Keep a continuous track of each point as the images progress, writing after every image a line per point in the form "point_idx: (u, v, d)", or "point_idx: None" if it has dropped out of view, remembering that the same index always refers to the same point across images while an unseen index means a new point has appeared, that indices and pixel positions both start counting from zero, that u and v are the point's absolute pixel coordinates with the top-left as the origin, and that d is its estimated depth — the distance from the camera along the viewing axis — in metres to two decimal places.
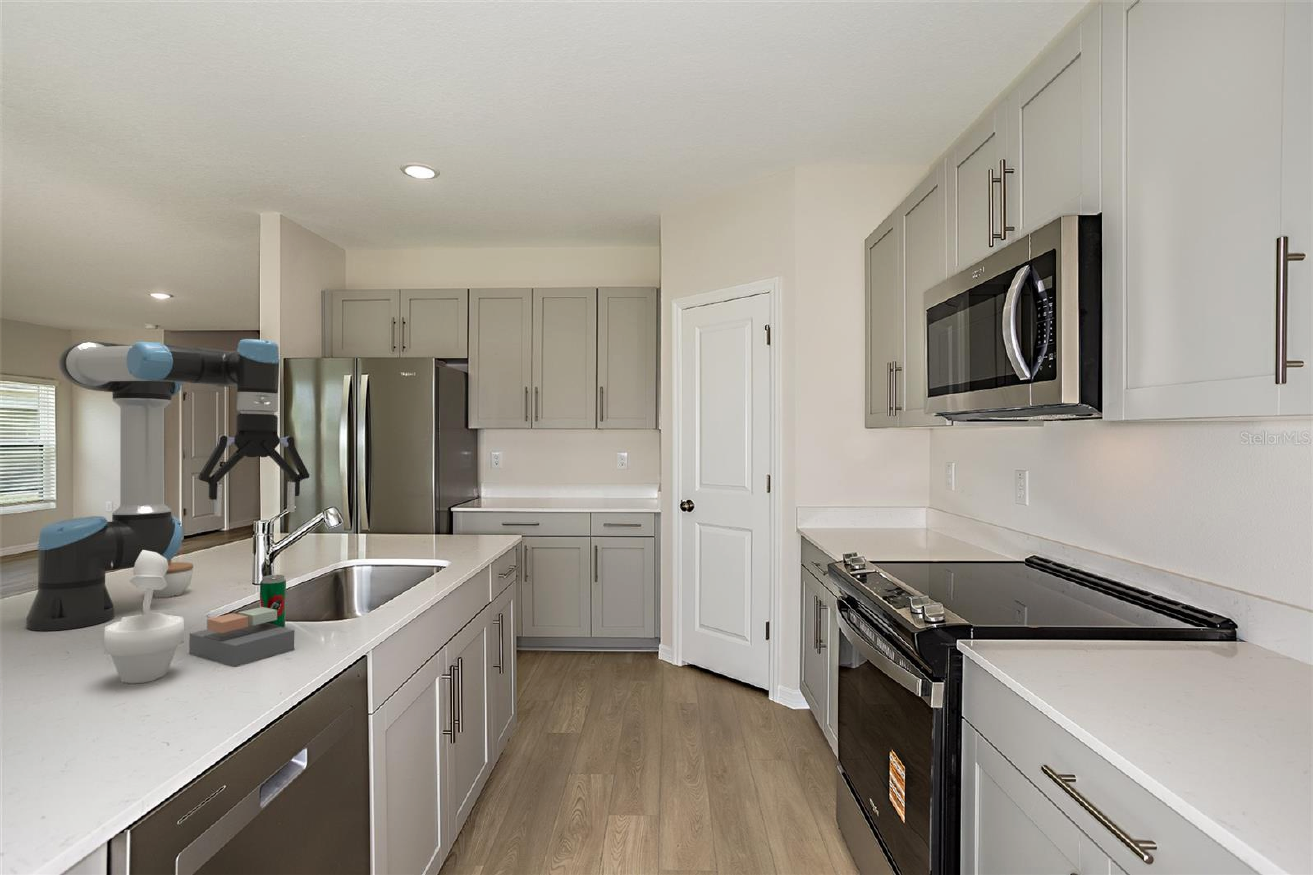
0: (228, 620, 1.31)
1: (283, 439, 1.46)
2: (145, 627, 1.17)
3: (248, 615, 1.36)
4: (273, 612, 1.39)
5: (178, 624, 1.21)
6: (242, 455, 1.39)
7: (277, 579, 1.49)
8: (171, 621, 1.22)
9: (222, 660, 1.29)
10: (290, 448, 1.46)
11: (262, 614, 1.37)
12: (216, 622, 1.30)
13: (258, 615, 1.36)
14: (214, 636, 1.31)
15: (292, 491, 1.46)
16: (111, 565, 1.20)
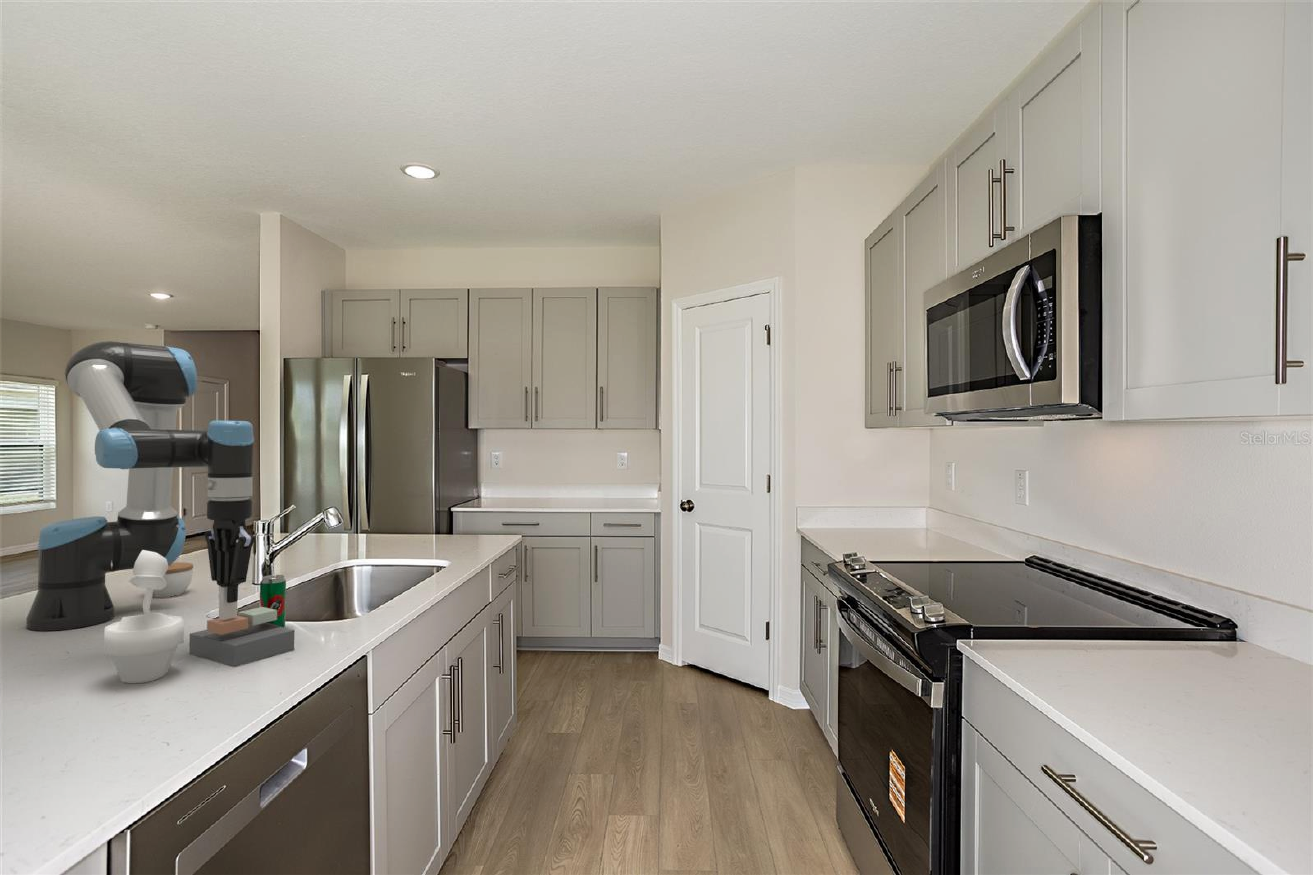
0: (228, 622, 1.31)
1: (241, 535, 1.30)
2: (145, 627, 1.17)
3: (248, 615, 1.36)
4: (273, 612, 1.39)
5: (178, 624, 1.21)
6: (217, 546, 1.32)
7: (277, 579, 1.49)
8: (171, 621, 1.22)
9: (222, 660, 1.29)
10: (236, 547, 1.30)
11: (262, 614, 1.37)
12: (216, 624, 1.30)
13: (258, 615, 1.36)
14: (214, 636, 1.31)
15: (222, 597, 1.32)
16: (111, 565, 1.20)
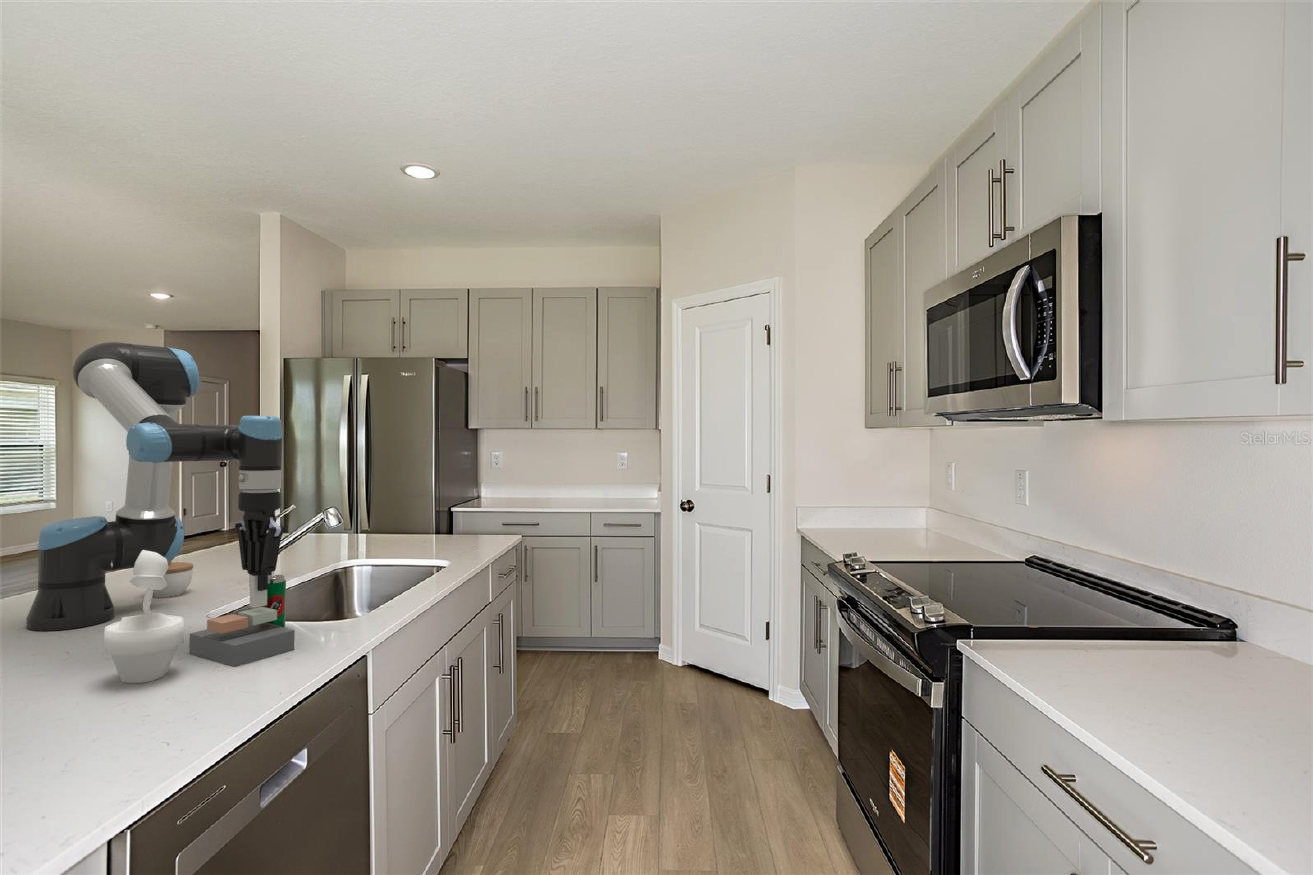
0: (228, 621, 1.31)
1: (271, 525, 1.36)
2: (145, 627, 1.17)
3: (248, 615, 1.36)
4: (273, 612, 1.39)
5: (178, 624, 1.21)
6: (248, 537, 1.37)
7: (277, 579, 1.49)
8: (171, 621, 1.22)
9: (222, 660, 1.29)
10: (267, 537, 1.35)
11: (262, 614, 1.37)
12: (216, 623, 1.30)
13: (258, 615, 1.36)
14: (214, 636, 1.31)
15: (252, 585, 1.37)
16: (111, 565, 1.20)
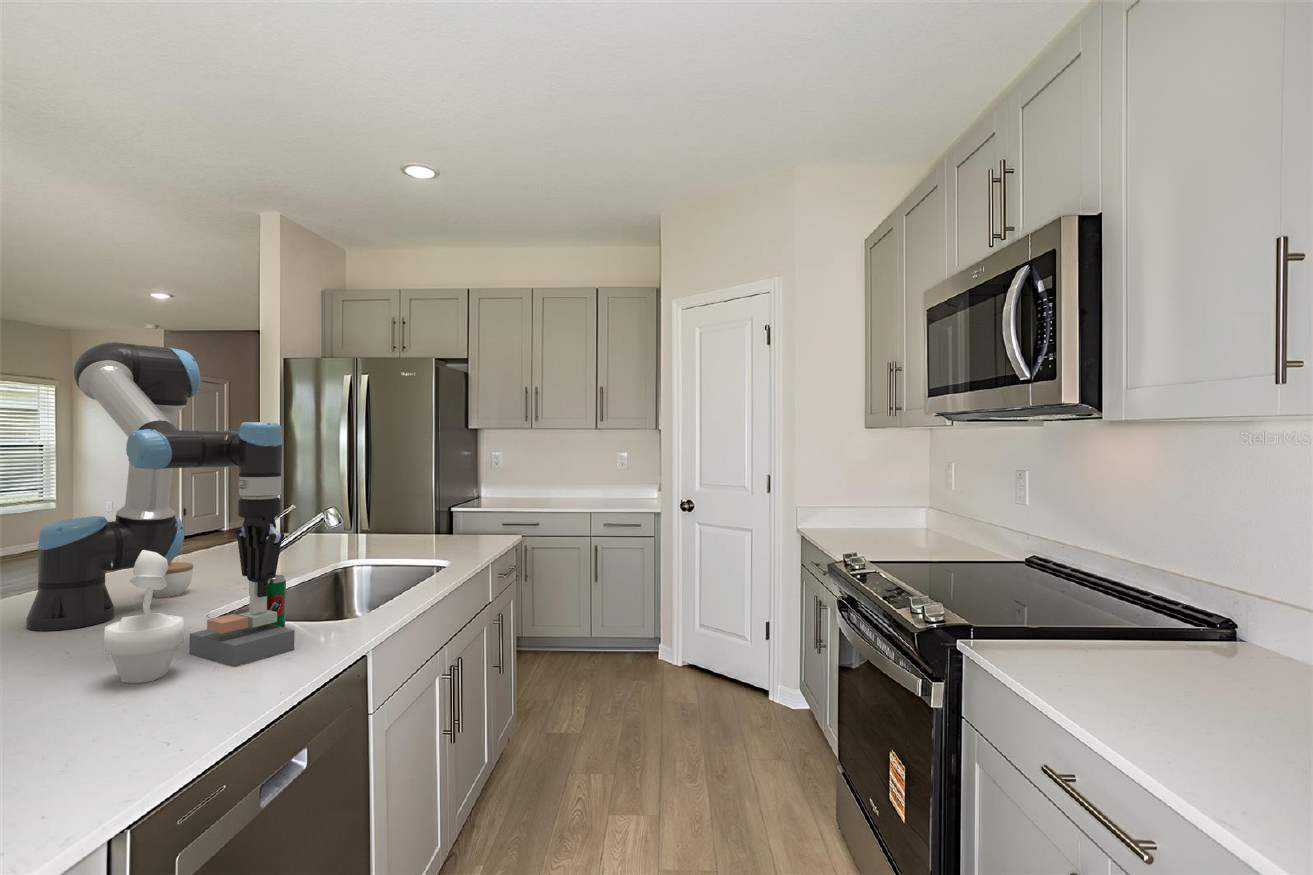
0: (228, 621, 1.31)
1: (271, 532, 1.36)
2: (145, 627, 1.17)
3: (248, 617, 1.36)
4: (273, 614, 1.39)
5: (178, 624, 1.21)
6: (247, 543, 1.37)
7: (277, 579, 1.49)
8: (171, 621, 1.22)
9: (222, 660, 1.29)
10: (267, 543, 1.35)
11: (262, 616, 1.37)
12: (216, 623, 1.30)
13: (258, 617, 1.36)
14: (214, 636, 1.31)
15: (252, 591, 1.37)
16: (111, 565, 1.20)
